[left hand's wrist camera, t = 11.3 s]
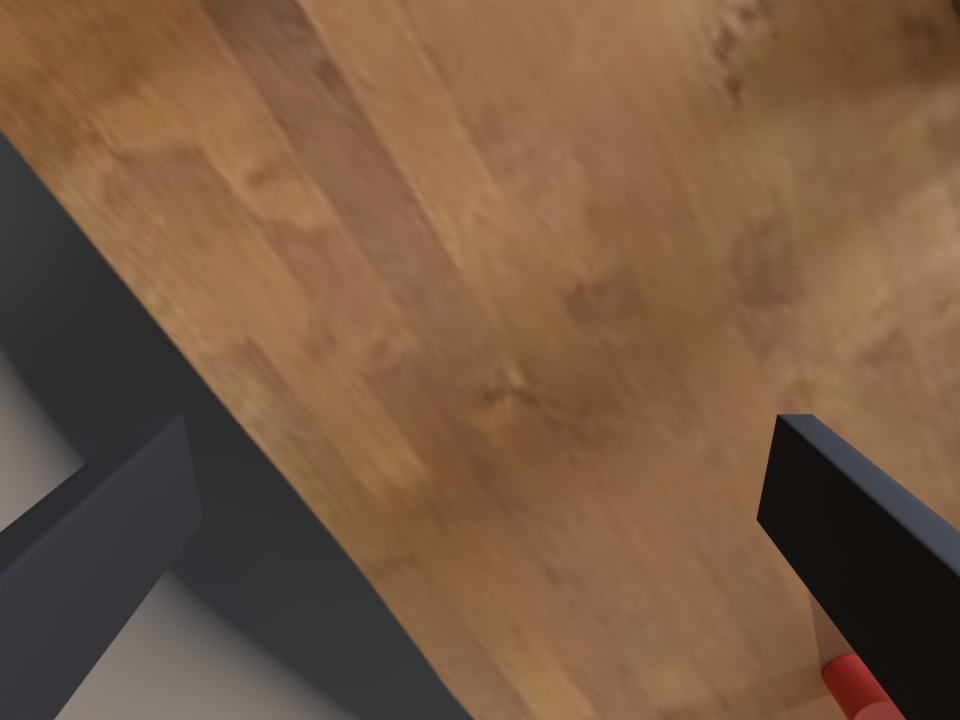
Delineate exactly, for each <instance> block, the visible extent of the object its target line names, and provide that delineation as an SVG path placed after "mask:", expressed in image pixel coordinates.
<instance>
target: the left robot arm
mask: <svg viewBox="0 0 960 720" xmlns="http://www.w3.org/2000/svg"><path fill="white" fill-rule="evenodd" d="M952 2H953V4H954V6H955V8H956V11H957V13H958V15H959V16H960V0H952ZM202 521H203V515H202V510H201V505H200V500H199V495H198V490H197V484H196V479H195V474H194V469H193V464H192V459H191V454H190V449H189V444H188V439H187V434H186V429H185V423H184V419H183V415H182V414H148V415H147V416H145V417H144V418H143V419H142V420H140V421H139V422H138V423H137V424H135V425H134V426H133V427H132V428H130V429H129V430H128V431H127V432H125V433H124V434H123V435H122V436H120V437H119V438H118V439H117V440H115V441H114V442H113V443H112V444H110V445H109V446H108V447H107V448H105V449H104V450H103V451H102V452H100V453H99V454H98V455H97V456H95V457H94V458H93V459H92V460H90V461H89V462H88V463H87V464H85V465H84V466H83V467H82V468H80V469H79V470H78V471H77V472H75V473H74V474H73V475H72V476H70V477H69V478H68V479H67V480H65V481H64V482H63V483H62V484H60V485H59V486H58V487H57V488H55V489H54V490H53V491H52V492H50V493H49V494H48V495H46V496H45V497H44V498H43V499H42V500H40V501H39V502H38V503H36V504H35V505H34V506H33V507H31V508H30V509H29V510H28V511H27V512H25V513H24V514H23V515H22V516H20V517H19V518H18V519H16V520H15V521H14V522H13V523H11V524H10V525H9V526H8V527H6V528H5V529H4V530H3V531H1V532H0V720H54V719H55V718H56V716H57V715H58V714H59V712H60V711H61V710H62V708H63V707H64V706H65V704H66V703H67V702H68V700H69V699H70V698H71V696H72V695H73V694H74V692H75V691H76V690H77V688H78V687H79V686H80V684H81V683H82V682H83V680H84V679H85V678H86V676H87V675H88V674H89V672H90V671H91V670H92V668H93V667H94V666H95V664H96V663H97V662H98V660H99V659H100V658H101V656H102V655H103V654H104V652H105V651H106V650H107V648H108V647H109V646H110V644H111V643H112V641H113V640H114V639H115V637H116V636H117V635H118V633H119V632H120V631H121V629H122V628H123V627H124V625H125V624H126V623H127V621H128V620H129V619H130V617H131V616H132V615H133V613H134V612H135V611H136V609H137V608H138V607H139V605H140V604H141V603H142V601H143V600H144V599H145V597H146V596H147V595H148V593H149V592H150V591H151V589H152V588H153V586H154V585H155V584H156V583H157V581H158V580H159V579H160V577H161V576H162V574H163V573H164V572H165V571H166V569H167V568H168V566H169V565H170V564H171V562H172V561H173V560H174V558H175V557H176V556H177V554H178V553H179V552H180V550H181V549H182V548H183V546H184V545H185V544H186V542H187V541H188V540H189V538H190V537H191V536H192V534H193V533H194V532H195V530H196V529H197V528H198V526H199V525H200V524H201V522H202ZM757 521H758V522H759V524H760V525H761V526H762V528H763V529H764V530H765V532H766V533H767V534H768V536H769V537H770V538H771V540H772V541H773V542H774V544H775V545H776V546H777V548H778V549H779V550H780V552H781V553H782V554H783V556H784V557H785V558H786V560H787V561H788V562H789V564H790V565H791V567H792V568H793V569H794V571H795V572H796V573H797V575H798V576H799V577H800V579H801V580H802V581H803V583H804V584H805V585H806V587H807V588H808V589H809V591H810V592H811V593H812V595H813V596H814V597H815V599H816V600H817V601H818V603H819V604H820V605H821V607H822V608H823V609H824V611H825V612H826V613H827V615H828V616H829V617H830V619H831V620H832V621H833V623H834V624H835V625H836V627H837V628H838V629H839V631H840V632H841V633H842V635H843V636H844V637H845V639H846V640H847V642H848V643H849V644H850V646H851V647H852V648H853V650H854V651H855V652H856V654H857V655H858V656H859V658H860V659H861V660H862V662H863V663H864V664H865V666H866V667H867V668H868V670H869V671H870V672H871V674H872V675H873V676H874V678H875V679H876V680H877V682H878V683H879V684H880V686H881V687H882V688H883V690H884V691H885V692H886V694H887V695H888V696H889V698H890V699H891V700H892V702H893V703H894V704H895V706H896V707H897V708H898V710H899V711H900V712H901V714H902V715H903V716H904V718H905V719H906V720H960V532H959V531H957V530H956V529H955V528H954V527H952V526H951V525H950V524H949V523H947V522H946V521H945V520H944V519H942V518H941V517H940V516H939V515H937V514H936V513H935V512H934V511H932V510H931V509H930V508H929V507H927V506H926V505H925V504H924V503H922V502H921V501H920V500H919V499H917V498H916V497H915V496H914V495H912V494H911V493H910V492H908V491H907V490H906V489H905V488H903V487H902V486H901V485H900V484H898V483H897V482H896V481H895V480H893V479H892V478H891V477H890V476H888V475H887V474H886V473H885V472H883V471H882V470H881V469H880V468H878V467H877V466H876V465H875V464H873V463H872V462H871V461H870V460H868V459H867V458H866V457H865V456H863V455H862V454H861V453H860V452H858V451H857V450H856V449H855V448H853V447H852V446H851V445H850V444H848V443H847V442H846V441H845V440H843V439H842V438H841V437H840V436H838V435H837V434H836V433H835V432H833V431H832V430H831V429H830V428H828V427H827V426H826V425H825V424H823V423H822V422H821V421H820V420H818V419H817V418H816V417H815V416H813V415H812V414H777V418H776V423H775V428H774V434H773V439H772V444H771V449H770V454H769V459H768V464H767V469H766V474H765V479H764V484H763V489H762V494H761V500H760V505H759V510H758V515H757Z"/></svg>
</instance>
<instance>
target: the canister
mask: <svg viewBox="0 0 960 720" xmlns="http://www.w3.org/2000/svg"><path fill="white" fill-rule="evenodd" d="M822 677H823V681H824V683H825V685H826V686H827V688H828V689H829V691H830V692H831V694H832V695H833V697H834V698H835V700H836V702H837V703H838V705H839V706H840V708H841V709H842V711H843V712H844V714H845V716H846V717H847V719H848V720H904V716H903V715H902V714H901V712H900V711H899V710H898V708H897V707H896V706H895V704H894V703H893V702H892V700H891V699H890V698H889V696H888V695H887V694H886V692H885V691H884V690H883V688H882V687H881V686H880V684H879V683H878V682H877V680H876V679H875V678H874V676H873V675H872V674H871V672H870V671H869V670H868V668H867V667H866V666H865V664H864V663H863V662H862V660H861V659H860V658H859V656H856V655H845V656H841V657H838V658H836V659H834V660H833V661H831V662H830V663H829V664H828V665H827V666H826V667H825V669H824V671H823V675H822Z"/></svg>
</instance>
